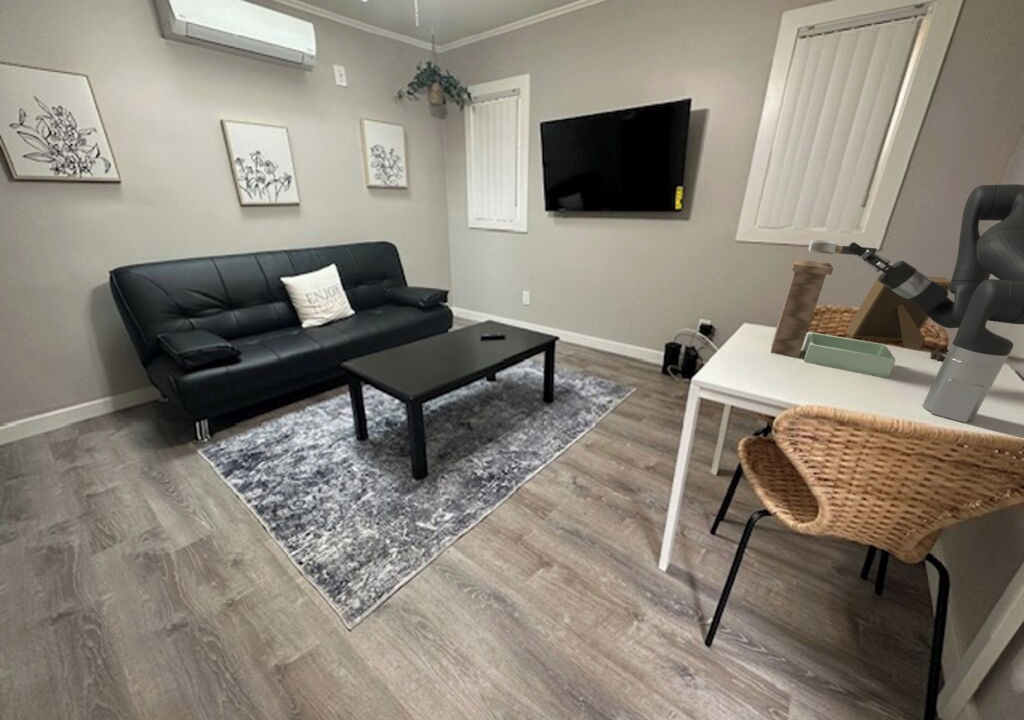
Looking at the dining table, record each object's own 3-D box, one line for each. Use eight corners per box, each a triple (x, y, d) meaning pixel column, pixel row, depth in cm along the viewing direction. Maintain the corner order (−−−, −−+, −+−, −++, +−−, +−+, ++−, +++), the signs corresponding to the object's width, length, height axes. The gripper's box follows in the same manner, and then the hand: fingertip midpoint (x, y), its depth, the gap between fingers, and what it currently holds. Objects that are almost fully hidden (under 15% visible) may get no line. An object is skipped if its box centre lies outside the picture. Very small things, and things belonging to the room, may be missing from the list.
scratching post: (801, 348, 143) (829, 262, 131) (802, 360, 132) (833, 268, 120) (768, 342, 148) (793, 259, 136) (767, 353, 137) (793, 264, 125)
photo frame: (844, 334, 160) (868, 271, 150) (902, 337, 158) (931, 274, 148) (871, 347, 147) (899, 279, 137) (935, 351, 145) (968, 283, 135)
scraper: (870, 254, 124) (874, 244, 123) (876, 257, 116) (880, 247, 115) (808, 249, 132) (811, 239, 131) (809, 252, 124) (812, 242, 123)
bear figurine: (913, 343, 144) (956, 341, 143) (909, 354, 146) (952, 352, 145) (962, 362, 127) (1012, 360, 126) (957, 375, 129) (1006, 373, 128)
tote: (878, 361, 133) (885, 344, 131) (887, 378, 121) (895, 359, 118) (802, 347, 143) (808, 331, 141) (804, 361, 131) (810, 344, 129)
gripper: (896, 294, 115) (841, 257, 119) (887, 286, 126) (837, 253, 130) (923, 272, 110) (866, 235, 114) (911, 266, 121) (859, 233, 125)
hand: (850, 245), depth 122 cm, fingers closed on scraper, 2 cm apart
